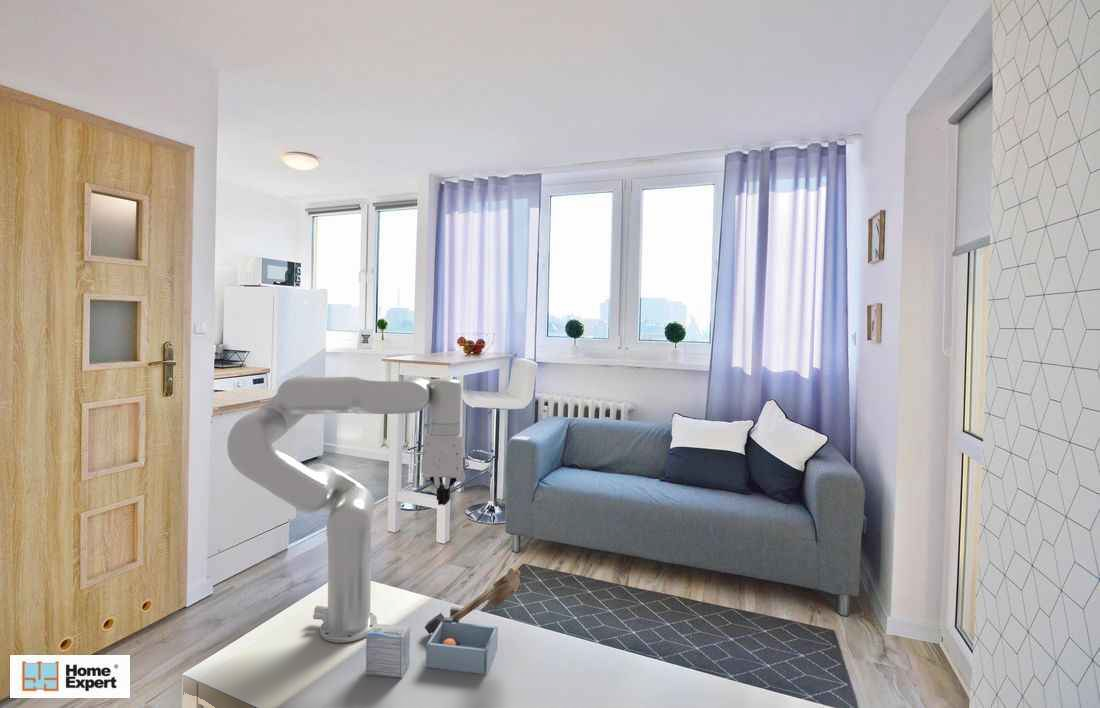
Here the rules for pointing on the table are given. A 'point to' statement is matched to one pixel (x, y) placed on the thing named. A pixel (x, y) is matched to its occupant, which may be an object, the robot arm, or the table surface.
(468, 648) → the bin
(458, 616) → the lever
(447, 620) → the fulcrum
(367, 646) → the medicine box
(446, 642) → the ball
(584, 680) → the table surface
